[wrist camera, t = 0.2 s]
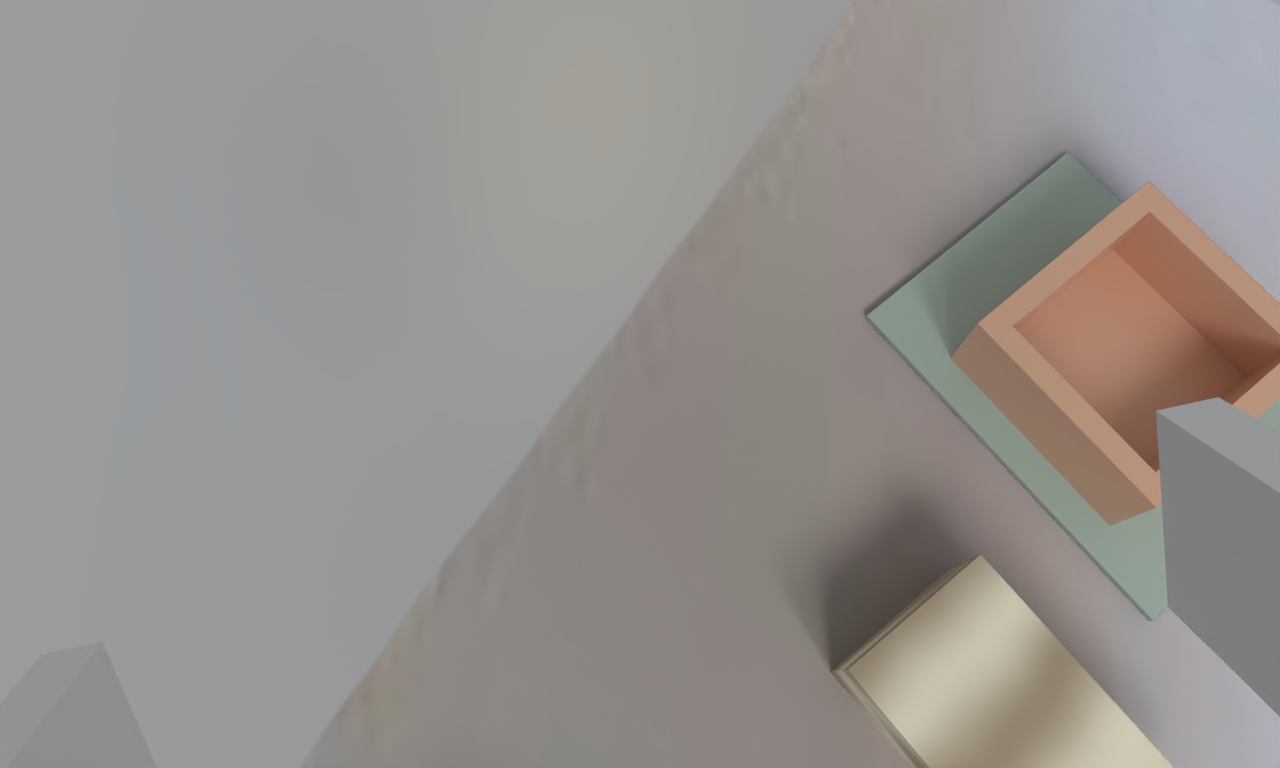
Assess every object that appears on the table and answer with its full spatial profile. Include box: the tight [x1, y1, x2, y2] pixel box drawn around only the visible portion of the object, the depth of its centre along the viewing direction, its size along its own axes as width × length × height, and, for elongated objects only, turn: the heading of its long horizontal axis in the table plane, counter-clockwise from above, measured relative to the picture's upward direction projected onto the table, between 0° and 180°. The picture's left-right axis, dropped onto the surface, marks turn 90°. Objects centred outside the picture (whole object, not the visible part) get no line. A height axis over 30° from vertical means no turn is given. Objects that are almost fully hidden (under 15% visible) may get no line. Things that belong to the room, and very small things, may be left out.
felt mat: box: [866, 152, 1280, 621], centre depth 50 cm, size 18×13×1 cm
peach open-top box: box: [950, 181, 1280, 526], centre depth 47 cm, size 10×10×5 cm
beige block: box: [831, 554, 1174, 768], centre depth 43 cm, size 12×7×6 cm, turn 39°
